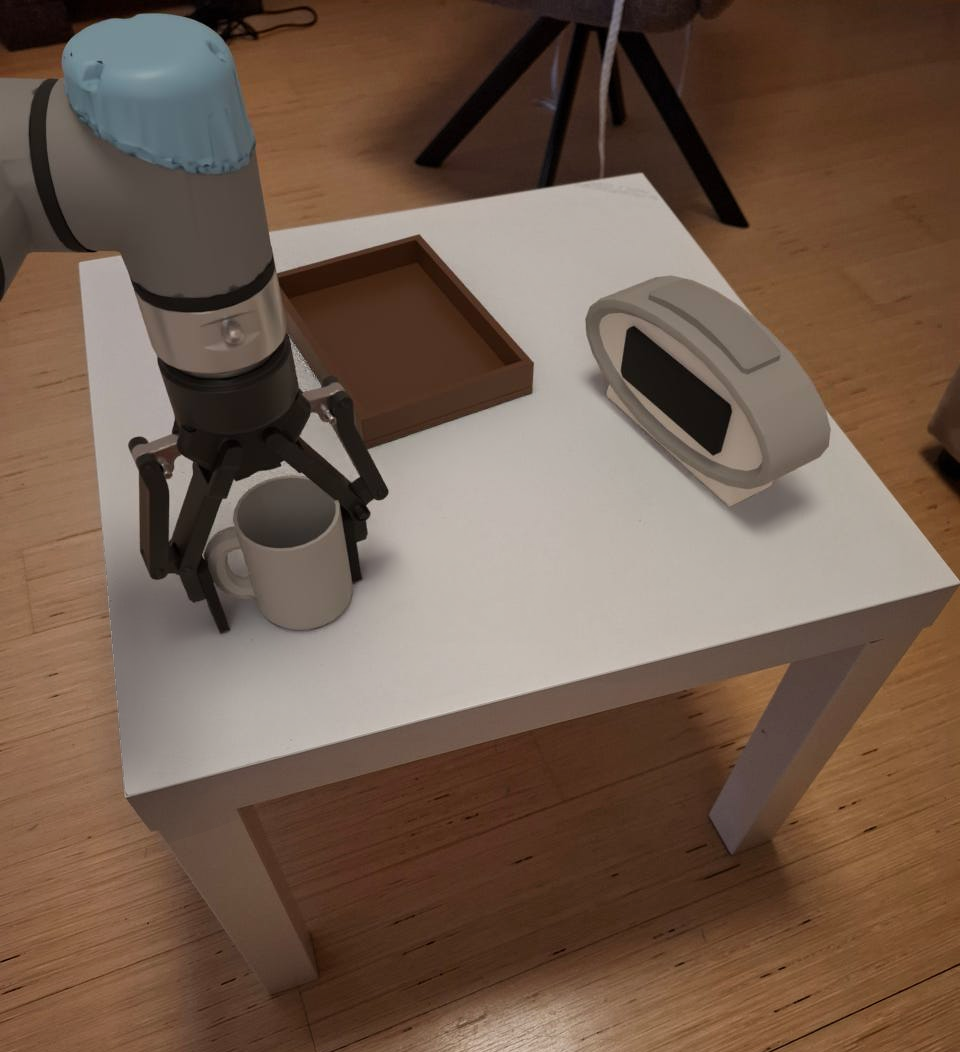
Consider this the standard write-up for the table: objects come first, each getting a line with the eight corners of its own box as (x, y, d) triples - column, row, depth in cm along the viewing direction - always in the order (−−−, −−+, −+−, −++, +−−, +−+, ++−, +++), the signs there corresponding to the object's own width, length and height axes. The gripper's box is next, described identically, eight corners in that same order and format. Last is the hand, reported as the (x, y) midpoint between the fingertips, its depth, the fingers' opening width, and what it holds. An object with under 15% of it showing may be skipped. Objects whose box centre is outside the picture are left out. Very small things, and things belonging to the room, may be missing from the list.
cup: (359, 624, 69) (346, 542, 62) (222, 647, 68) (192, 565, 61) (347, 553, 74) (333, 468, 67) (217, 573, 72) (189, 489, 65)
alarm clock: (577, 379, 87) (590, 251, 76) (630, 357, 89) (650, 229, 78) (748, 535, 75) (791, 408, 65) (805, 506, 77) (855, 378, 67)
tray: (270, 306, 93) (263, 276, 91) (421, 263, 98) (419, 233, 95) (364, 450, 81) (360, 419, 78) (532, 393, 85) (534, 362, 83)
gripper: (33, 442, 48) (154, 687, 66) (430, 321, 54) (441, 575, 72) (5, 361, 52) (125, 612, 70) (377, 257, 58) (400, 512, 76)
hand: (286, 593), depth 71 cm, fingers closed on cup, 10 cm apart
